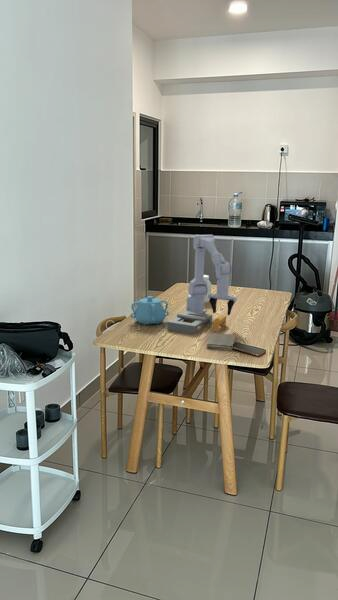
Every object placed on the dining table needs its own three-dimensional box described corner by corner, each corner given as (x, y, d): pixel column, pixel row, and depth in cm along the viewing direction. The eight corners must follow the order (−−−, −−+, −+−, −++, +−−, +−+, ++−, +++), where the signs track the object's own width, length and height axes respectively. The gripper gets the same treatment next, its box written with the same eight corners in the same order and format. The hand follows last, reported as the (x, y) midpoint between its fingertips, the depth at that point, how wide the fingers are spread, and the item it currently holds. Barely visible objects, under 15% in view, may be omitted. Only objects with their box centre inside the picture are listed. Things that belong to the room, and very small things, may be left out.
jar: (190, 301, 288) (190, 276, 285) (194, 297, 297) (195, 273, 293) (208, 302, 285) (209, 278, 281) (212, 299, 294) (213, 275, 290)
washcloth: (205, 350, 208) (205, 343, 208) (210, 336, 225) (210, 330, 225) (233, 352, 206) (233, 345, 205) (235, 338, 223) (235, 332, 222)
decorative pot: (134, 329, 234) (134, 302, 231) (127, 317, 252) (127, 293, 249) (173, 326, 239) (174, 300, 236) (163, 315, 257) (163, 291, 254)
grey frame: (167, 329, 234) (167, 318, 233) (185, 318, 253) (185, 308, 252) (195, 334, 228) (195, 323, 226) (211, 322, 247) (212, 311, 245)
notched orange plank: (217, 331, 232) (217, 322, 231) (211, 330, 233) (212, 321, 232) (225, 325, 242) (226, 316, 241) (220, 324, 244) (220, 315, 242)
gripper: (206, 287, 235) (205, 313, 238) (234, 290, 229) (232, 317, 232) (211, 284, 241) (210, 310, 244) (238, 287, 235) (237, 314, 238)
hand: (221, 313), depth 239 cm, fingers open, 7 cm apart
